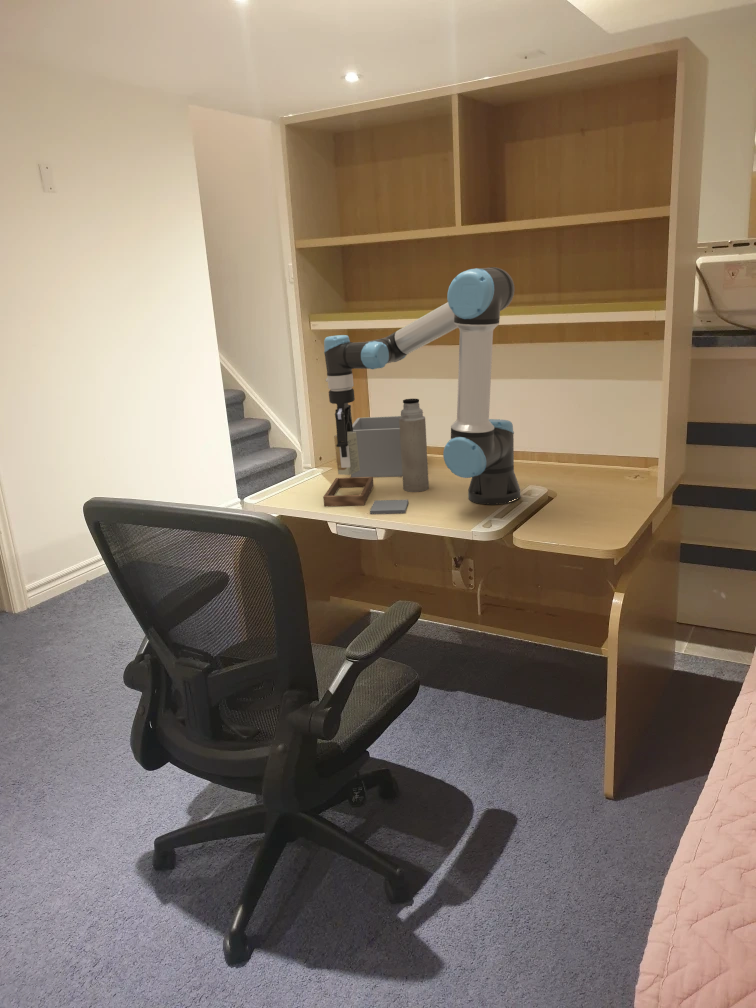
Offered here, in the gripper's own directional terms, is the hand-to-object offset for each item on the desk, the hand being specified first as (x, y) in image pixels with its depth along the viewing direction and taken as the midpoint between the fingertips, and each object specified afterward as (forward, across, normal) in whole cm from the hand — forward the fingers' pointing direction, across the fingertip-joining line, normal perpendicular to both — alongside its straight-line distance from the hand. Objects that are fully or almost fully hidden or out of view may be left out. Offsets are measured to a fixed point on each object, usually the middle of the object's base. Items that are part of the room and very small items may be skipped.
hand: (348, 463), depth 236 cm
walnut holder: (+10, 0, 0) cm, 10 cm away
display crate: (+10, -32, +8) cm, 35 cm away
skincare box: (+3, 0, 0) cm, 3 cm away
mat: (+10, +14, +14) cm, 22 cm away
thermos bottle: (+11, -6, +20) cm, 23 cm away
